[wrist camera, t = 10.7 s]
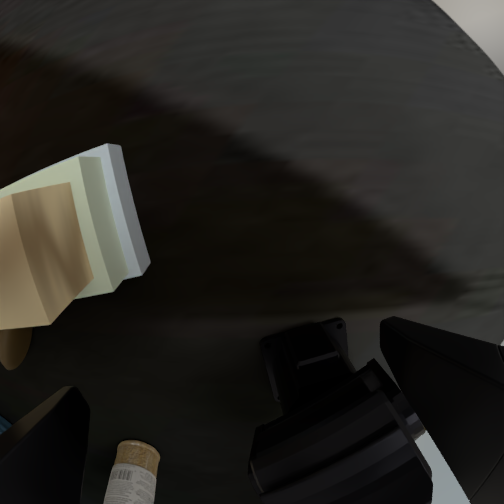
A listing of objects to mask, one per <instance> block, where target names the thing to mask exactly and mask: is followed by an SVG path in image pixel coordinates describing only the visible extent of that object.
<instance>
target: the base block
mask: <svg viewBox="0 0 504 504" xmlns="http://www.w3.org/2000/svg"><path fill="white" fill-rule="evenodd" d="M78 156H81V157H100V158H101V163H102V168H103V173H104V178H105V182H106V187H107V191H108V196H109V200H110V204H111V209H112V213H113V217H114V221H115V224H116V228H117V232H118V236H119V239H120V243H121V247H122V250H123V254H124V257H125V260H126V264H127V267H128V270H129V273H128V274H127V275H126V277H125V278H124V279H128V278H133V277H137V276H141V275H143V273H144V272H145V270H146V269H147V267H148V266H149V264H150V263H151V262H150V259H149V255H148V252H147V249H146V245H145V242H144V238H143V235H142V231H141V228H140V224H139V221H138V217H137V213H136V209H135V205H134V201H133V198H132V194H131V189H130V185H129V181H128V177H127V173H126V168H125V164H124V159H123V155H122V150H121V146H119V145H113V144H104V145H102V146H99V147H96V148H93V149H91V150H88V151H85V152H83V153H80V154H78V155H75V156H73V157H70V158H68V159H65V160H63V161H61V162H58V163H56V164H53V165H51V166H49V167H47V168H50V167H52V166H55V165H57V164H60V163H62V162H65V161H67V160H70V159H73V158H75V157H78ZM47 168H44V169H42V170H45V169H47ZM42 170H40V171H42ZM40 171H38V172H40ZM38 172H36V173H38ZM33 174H35V173H33ZM33 174H31V175H33ZM31 175H29V176H31ZM27 177H28V176H27ZM25 178H26V177H25ZM23 179H24V178H23ZM21 180H22V179H21ZM19 181H20V180H19ZM124 279H123V280H124Z"/></svg>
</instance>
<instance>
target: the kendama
mask: <svg viewBox="0 0 504 504" xmlns="http://www.w3.org/2000/svg"><path fill="white" fill-rule="evenodd" d="M32 330H33V328H32V327H24V328H14V329H3V330H0V361H1V363H2V364H3V365H4V367H5V368H6V369H7V370H12V369H15V368H16V367H18V366H19V365H20V364H21V362H22V361H23V359H24V357H25V356H26V354H27V351H28V348H29V345H30V342H31V337H32Z"/></svg>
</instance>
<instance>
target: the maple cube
mask: <svg viewBox="0 0 504 504" xmlns="http://www.w3.org/2000/svg"><path fill="white" fill-rule="evenodd" d="M93 279H94V276H93V273H92V270H91V267H90V263H89V260H88V256H87V253H86V249H85V245H84V242H83V238H82V234H81V230H80V226H79V222H78V218H77V213H76V209H75V204H74V200H73V195H72V190H71V185H70V182H67V183H61V184H56V185H51V186H46V187H41V188H36V189H32V190H27V191H23V192H18V193H14V194H10V195H8V196H5V197H3V198H1V199H0V330H3V329H14V328H24V327H34V326H44V325H51V324H52V322H53V321H54V320H55V319H56V318H57V317H58V316H59V315H60V314H61V312H62V311H63V310H64V309H65V308H66V307H67V306H68V305H69V304H70V303H71V302H72V300H73V299H74V298H75V297H76V296H77V295H78V294H79V293H80V292H81V291H82V290H83V289H84V288H85V287H86V286H87V285H88V284H89V283H90V282H91V281H92V280H93Z"/></svg>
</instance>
